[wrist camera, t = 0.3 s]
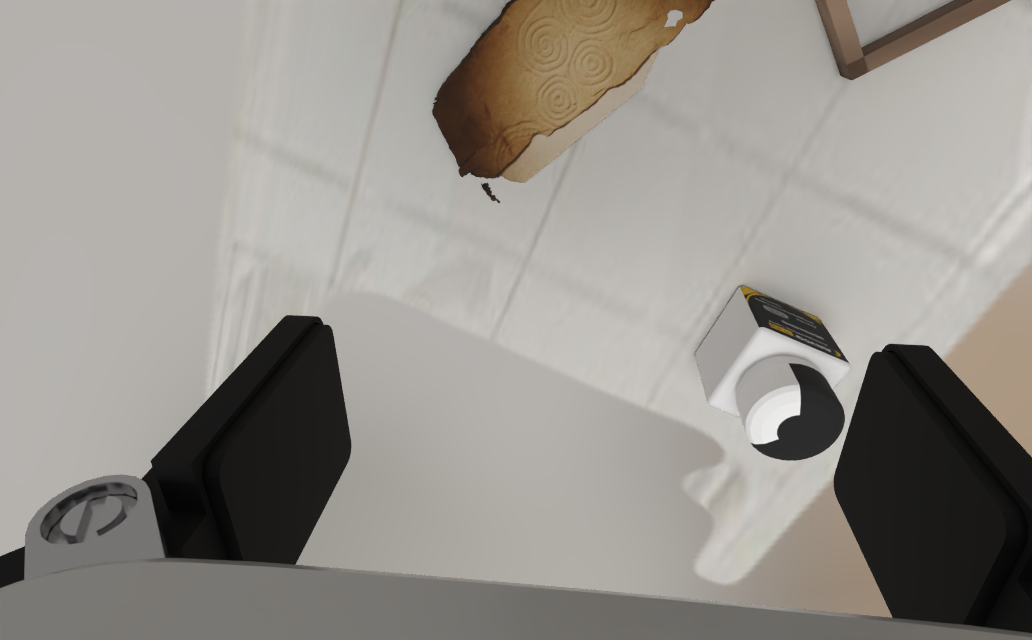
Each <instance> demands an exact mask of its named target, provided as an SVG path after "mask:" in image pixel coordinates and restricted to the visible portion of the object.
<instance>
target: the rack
mask: <svg viewBox="0 0 1032 640" xmlns="http://www.w3.org/2000/svg"><path fill="white" fill-rule="evenodd" d="M1009 1H1010V0H954V1H952V2H950V3H948V4H946V5H944V6H943V7H941V8H939V9H937V10H935V11H933V12H931V13H929V14H927V15H925V16H923V17H921V18H919V19H917V20H915V21H914V22H912V23H910V24H908V25H906V26H904V27H902V28H900V29H898V30H896V31H894V32H892V33H890V34H888V35H886V36H885V37H883V38H881V39H879V40H877V41H875V42H873V43H871V44H869V45H867V46H865V47H863V48H861V46H860V43H859V39H858V36H857V33H856V30H855V27H854V24H853V20H852V17H851V14H850V11H849V8H848V5H847V1H846V0H816V3H817V6H818V9H819V12H820V15H821V18H822V21H823V24H824V27H825V30H826V33H827V36H828V39H829V42H830V45H831V48H832V51H833V54H834V57H835V60H836V63H837V66H838V69H839V72H840V75H841V76H842V77H845V78H847V79H850V80H854V79H856V78H858V77H860V76H862V75H864V74H865V73H867V72H869V71H871V70H873V69H875V68H877V67H879V66H881V65H883V64H885V63H887V62H889V61H891V60H893V59H895V58H897V57H899V56H901V55H903V54H905V53H907V52H909V51H911V50H913V49H915V48H917V47H919V46H921V45H923V44H925V43H927V42H929V41H931V40H933V39H935V38H937V37H939V36H941V35H943V34H945V33H947V32H949V31H951V30H953V29H955V28H957V27H959V26H961V25H963V24H965V23H967V22H969V21H971V20H973V19H975V18H977V17H979V16H981V15H983V14H985V13H987V12H989V11H991V10H993V9H995V8H997V7H999V6H1001V5H1003V4H1005V3H1007V2H1009Z"/></svg>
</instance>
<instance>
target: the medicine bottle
mask: <svg viewBox="0 0 1032 640" xmlns="http://www.w3.org/2000/svg"><path fill="white" fill-rule="evenodd" d="M695 358H696V361H697V365H698V369H699V373H700V376H701V380H702V384H703V388H704V391H705V395H706V399H707V402H708V404H709V405H710V406H712V407H714V408H717V409H719V410H722V411H724V412H727V413H729V414H732V415H734V416H736V417H739V418H741V419H742V422H743V425H744V428H745V431H746V434H747V437H748V439H749V441H750V443H751V444H752V445H753V447H754V448H756V449H757V450H758V451H759V452H761V453H762V454H764V455H766V456H769V457H772V458H775V459H780V460H802V459H806V458H810V457H813V456H815V455H817V454H819V453H821V452H823V451H825V450H826V449H827V448H829V447H830V446H831V445H832V444H833V443H834V442H835V441H836V439H837V438H838V437H839V435H840V433H841V432H842V429H843V426H844V422H845V415H844V410H843V407H842V405H841V403H840V402H839V400H838V398H837V396H836V395H835V393H834V391H833V390H834V388H835V387H836V386H837V385H838V384H839V382H840V381H841V380H842V379H843V378H844V376H845V375H846V374H847V373H848V372H849V370H850V368H851V367H850V364H849V362H848V361H847V359H846V358H845V356H844V355H843V353H842V352H841V350H840V349H839V347H838V346H837V344H836V343H835V341H834V340H833V338H832V337H831V335H830V334H829V332H828V331H827V329H826V328H825V326H824V325H823V323H822V322H821V320H820V319H819V318H817V317H814V316H812V315H810V314H807V313H805V312H803V311H800V310H798V309H796V308H793V307H791V306H789V305H786V304H784V303H782V302H779V301H777V300H775V299H772V298H770V297H768V296H765V295H763V294H761V293H758V292H756V291H754V290H751V289H749V288H747V287H744V286H741V287H739V288H738V289H737V291H736V292H735V294H734V295H733V297H732V298H731V300H730V301H729V303H728V304H727V306H726V307H725V309H724V310H723V312H722V313H721V315H720V317H719V318H718V320H717V321H716V323H715V324H714V326H713V327H712V329H711V330H710V332H709V333H708V335H707V336H706V338H705V339H704V341H703V342H702V344H701V345H700V347H699V348H698V350H697V351H696V353H695Z"/></svg>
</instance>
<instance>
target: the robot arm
mask: <svg viewBox="0 0 1032 640" xmlns="http://www.w3.org/2000/svg"><path fill="white" fill-rule="evenodd" d="M350 454H351V438H350V432H349V426H348V420H347V414H346V408H345V402H344V396H343V390H342V385H341V378H340V372H339V366H338V360H337V354H336V348H335V342H334V336H333V331H332V329H331V327H330V326H329V325H323V322H322V320H321V319H320V318H319V317H315V316H293V315H287V316H285V317H284V318H283V319H282V320H281V321H280V322H279V323H278V324H277V325H276V326H275V327H274V328H273V330H272V331H271V332H270V333H269V334H268V335H267V336H266V337H265V338H264V339H263V340H262V341H261V342H260V344H259V345H258V346H257V347H256V348H255V349H254V350H253V351H252V352H251V353H250V354H249V355H248V356H247V358H246V359H245V360H244V361H243V362H242V363H241V364H240V365H239V366H238V367H237V368H236V369H235V371H234V372H233V373H232V374H231V375H230V376H229V377H228V378H227V379H226V380H225V381H224V382H223V383H222V385H221V386H220V387H219V388H218V389H217V390H216V391H215V392H214V393H213V394H212V395H211V396H210V397H209V399H208V400H207V401H206V402H205V403H204V404H203V405H202V406H201V407H200V408H199V409H198V410H197V412H196V413H195V414H194V415H193V416H192V417H191V418H190V419H189V420H188V421H187V422H186V423H185V424H184V426H183V427H182V428H181V429H180V430H179V431H178V432H177V433H176V434H175V435H174V436H173V437H172V439H171V440H170V441H169V442H168V443H167V444H166V445H165V446H164V447H163V448H162V449H161V450H160V451H159V452H158V454H157V455H156V456H155V457H154V458H153V459H152V460H151V463H152V466H153V467H152V468H151V469H150V470H149V471H148V473H147V474H146V475H145V476H144V477H143V478H142V479H139V478H137V477H134V476H128V475H111V476H103V477H100V478H96V479H92V480H88V481H85V482H83V483H81V484H78V485H76V486H73V487H71V488H69V489H67V490H65V491H64V492H62V493H60V494H59V495H57V496H56V497H54V498H52V499H51V500H50V501H49V502H48V503H46V504H45V505H44V506H43V507H42V508H41V509H40V510H38V512H37V513H36V514H35V516H34V517H33V518H32V520H31V521H30V522H29V525H28V528H27V531H26V535H25V546H24V547H22V548H20V549H17V550H15V551H12V552H10V553H7V554H5V555H2V556H0V640H1032V457H1031V456H1030V455H1029V454H1028V453H1027V452H1026V451H1025V449H1023V447H1022V446H1021V445H1020V444H1019V443H1018V442H1017V441H1016V440H1015V439H1014V438H1013V437H1012V436H1011V434H1010V433H1009V432H1008V431H1007V430H1006V429H1005V428H1004V427H1003V426H1002V424H1001V423H1000V422H999V421H998V420H997V419H996V418H995V417H994V416H993V415H992V414H991V412H990V411H989V410H988V409H987V408H986V407H985V406H984V405H983V404H982V403H981V402H980V401H979V399H978V398H977V397H976V396H975V395H974V394H973V393H972V392H971V391H970V390H969V389H968V387H967V386H966V385H965V384H964V383H963V382H962V381H961V380H960V379H959V378H958V377H957V375H956V374H955V373H954V372H953V371H952V370H951V369H950V368H949V367H948V366H947V365H946V364H945V362H944V361H943V360H942V359H941V358H940V357H939V356H938V355H937V354H936V353H935V352H934V350H933V349H931V348H930V347H929V346H924V345H903V344H888V345H887V346H885V348H884V349H883V350H882V352H875V353H874V354H873V355H872V356H871V358H870V361H869V364H868V367H867V370H866V374H865V377H864V380H863V383H862V387H861V390H860V393H859V396H858V400H857V403H856V406H855V409H854V413H853V416H852V419H851V423H850V426H849V429H848V432H847V436H846V439H845V442H844V445H843V449H842V452H841V455H840V458H839V462H838V465H837V468H836V471H835V475H834V490H835V494H836V497H837V500H838V502H839V504H840V506H841V508H842V510H843V512H844V514H845V517H846V519H847V521H848V523H849V525H850V527H851V529H852V532H853V534H854V536H855V538H856V540H857V542H858V544H859V546H860V549H861V551H862V553H863V555H864V557H865V559H866V561H867V564H868V566H869V568H870V570H871V572H872V574H873V576H874V578H875V581H876V583H877V585H878V587H879V589H880V591H881V593H882V595H883V598H884V600H885V602H886V604H887V606H888V608H889V610H890V613H891V614H892V617H893V618H888V617H879V616H869V615H857V614H847V613H837V612H826V611H815V610H805V609H794V608H784V607H773V606H763V605H752V604H741V603H731V602H720V601H710V600H699V599H688V598H676V597H665V596H655V595H643V594H632V593H621V592H610V591H599V590H588V589H576V588H564V587H554V586H542V585H531V584H519V583H508V582H496V581H484V580H473V579H461V578H449V577H437V576H425V575H413V574H401V573H389V572H376V571H365V570H352V569H341V568H329V567H316V566H303V565H295V564H296V562H297V560H298V558H299V556H300V555H301V553H302V551H303V548H304V547H305V545H306V543H307V541H308V539H309V537H310V535H311V533H312V531H313V529H314V527H315V525H316V523H317V521H318V519H319V518H320V516H321V514H322V512H323V510H324V508H325V506H326V504H327V502H328V500H329V498H330V496H331V494H332V492H333V490H334V488H335V486H336V484H337V483H338V481H339V479H340V476H341V475H342V473H343V471H344V469H345V467H346V465H347V463H348V461H349V458H350Z"/></svg>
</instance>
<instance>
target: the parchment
mask: <svg viewBox="0 0 1032 640" xmlns="http://www.w3.org/2000/svg"><path fill="white" fill-rule="evenodd" d="M712 1H714V0H511V1H510V2H508V3H507V4H506V5H505V7H504V8H503V10H502V13H501V15H500V16H499V17H498V18H497V19H496V20H495V21H494V22H493V23H492V24H491V25H490V26H489V28H488V29H487V30H486V31H485V32H484V33H482V36H481V37H480V38H479V39H478V40H477V41H476V43H475V45H474V46H473V47H472V48H471V50H470V52H469V54H468V55H467V56H466V57H465V58H464V59H463V61H461V64H459V65H458V67H457V68H456V69H455V70H454V71H453V72H452V73H451V74H450V76H449V77H448V78H447V79H446V81H445V82H444V83H443V85H442V86H441V88H440V89H439V91H438V94H437V97H436V98H435V100H437V101H436V102H435V103H433V104H434V108H433V110H432V111H433V116H434V118H435V119H436V121H437V123H438V127H439V128H440V130H441V132H442V134H443V136H444V138H445V139H446V141H447V143H448V145H449V148H450V150H451V151H452V153H453V154H454V156H455V158H456V161H457V164H458V166H459V167H460V169H459V174H460V176H461V177H463V176H464V175H467V174H468V173H471V174H472V175H474V176H476V177H480V178H481V177H485V178H486V179H487V178H497V177H498V178H499V177H500V176H503V177H504V178H505V179H508V180H509V181H513V182H520V183H522V182H524V183H525V182H526V181H528V180H529V179H530V178H531V177H532V176H534V175H535V174H536V173H537V172H539V171H540V170H541V169H542V168H544V167H545V166H546V165H547V164H549V163H550V162H551V161H552V160H553V159H555V158H556V157H557V156H558V155H559V154H561V153H562V152H563V151H564V150H566V149H567V148H568V147H570V146H571V145H572V144H573V143H574V142H576V141H577V140H578V139H579V138H580V137H582V136H583V135H585V134H586V133H587V132H588V131H589V130H590V129H592V128H593V127H594V126H595V125H597V124H598V123H599V122H600V121H602V120H603V119H604V118H606V116H608V115H609V114H611V113H612V112H613V111H614V110H615V109H617V108H618V107H619V106H621V105H622V104H623V103H625V102H626V101H627V100H628V99H630V98H631V97H632V96H633V95H635V94H636V93H637V92H638V91H639V90H641V89H642V88H644V85H645V79H647V75H648V73H649V70H650V68H651V67H652V64H653V62H654V60H655V58H656V56H657V54H658V52H659V49H660V48H661V47H663V46H665V45H668V44H669V43H670V42H672V41H673V40H674V39H675V37H676V36H677V35H678V34H679V33H680V31H681V30H682V29H683V28H684V26H685V25H686V23H688V24H690V23H693V22H694V21H696V20H698V19H699V18H700V17H701V16H702V14H703V13H704V12H705V11H706V10H707V9H708V8H709V7H710V4H711V2H712ZM670 10H678V11H682V12H683V18H682V19H681V20H679V21H678V22H677V24H676V27H665V28H664V26H665V24H666V22H667V19H668V17H667V14H668V13H669V11H670ZM481 185H482V184H481ZM488 185H489V184H488V183H487V184H486V183H484V184H483V185H482V188H483V189H484V190H485V191H486V193H487V195H488V196H490V197H491V200H492V201H495V200H496V201H497V202H498V203H500V201H499V200H498V199H496V197H495V195H491V193H492V191H491V190H490V189H491V188H489V187H488Z"/></svg>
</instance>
